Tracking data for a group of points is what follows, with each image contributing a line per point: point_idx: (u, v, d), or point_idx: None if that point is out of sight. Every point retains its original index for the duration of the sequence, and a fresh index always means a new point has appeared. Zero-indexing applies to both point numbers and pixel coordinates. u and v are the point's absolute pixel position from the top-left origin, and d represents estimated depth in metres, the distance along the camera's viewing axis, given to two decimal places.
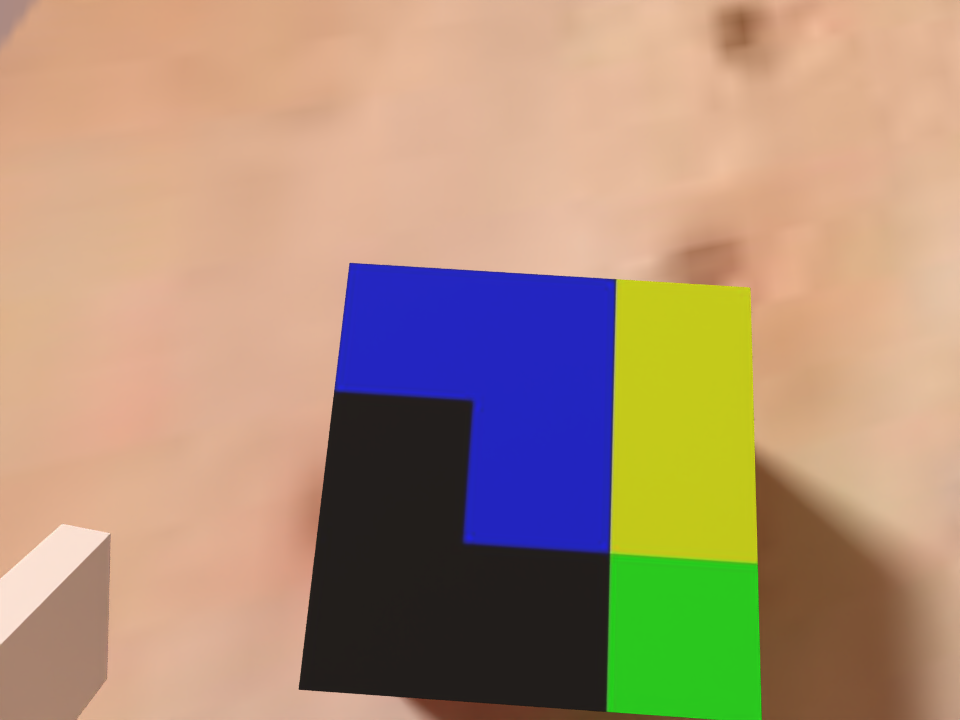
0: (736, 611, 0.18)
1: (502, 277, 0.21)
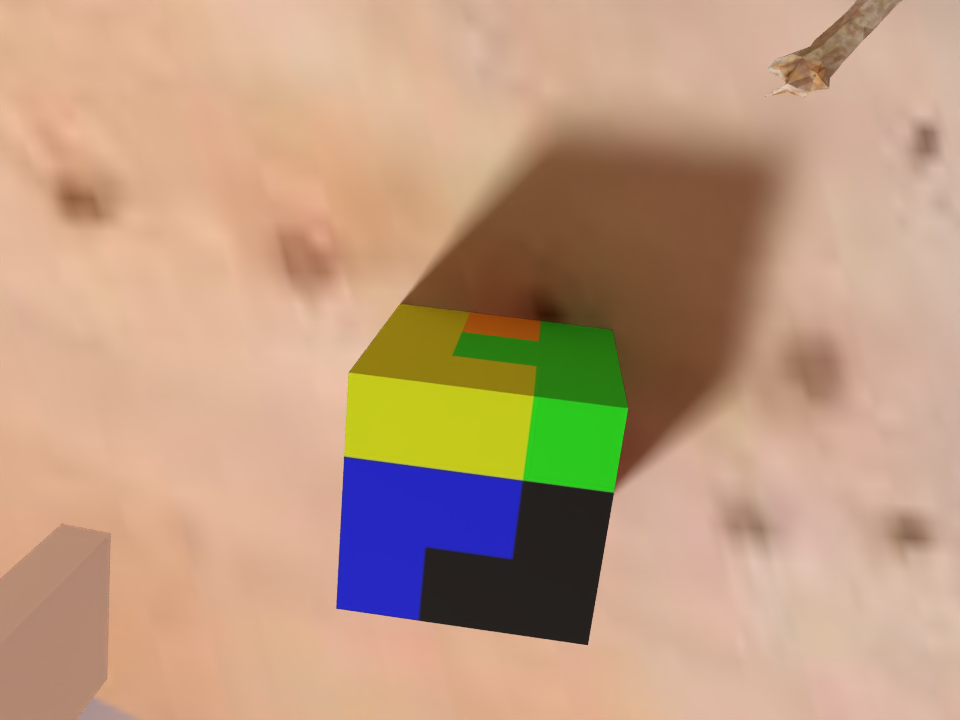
0: (562, 413, 0.29)
1: (344, 523, 0.32)
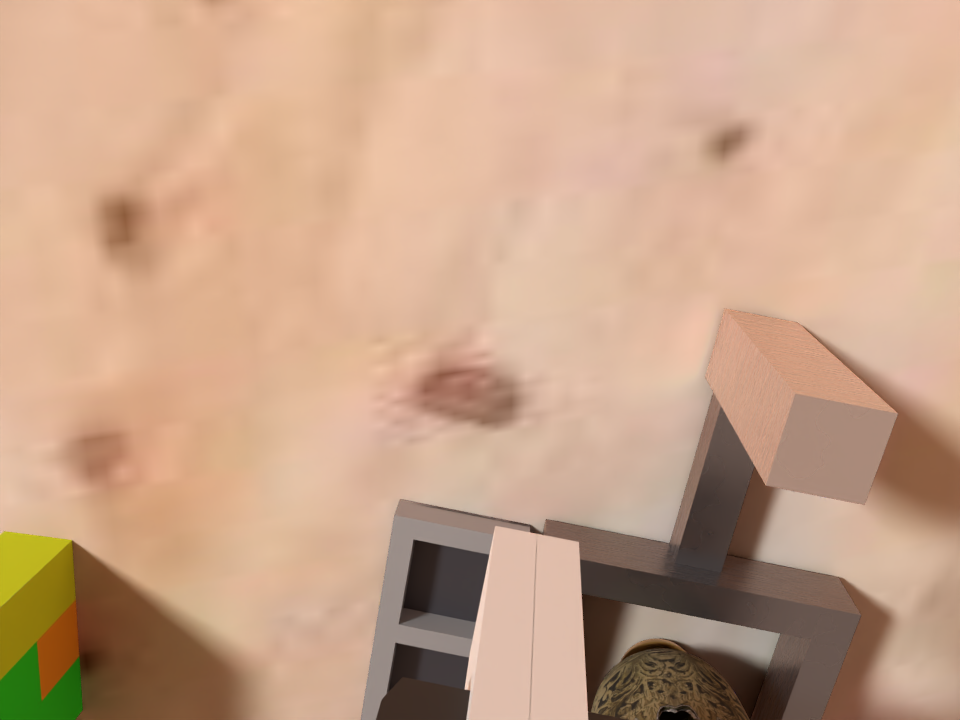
0: None
1: None
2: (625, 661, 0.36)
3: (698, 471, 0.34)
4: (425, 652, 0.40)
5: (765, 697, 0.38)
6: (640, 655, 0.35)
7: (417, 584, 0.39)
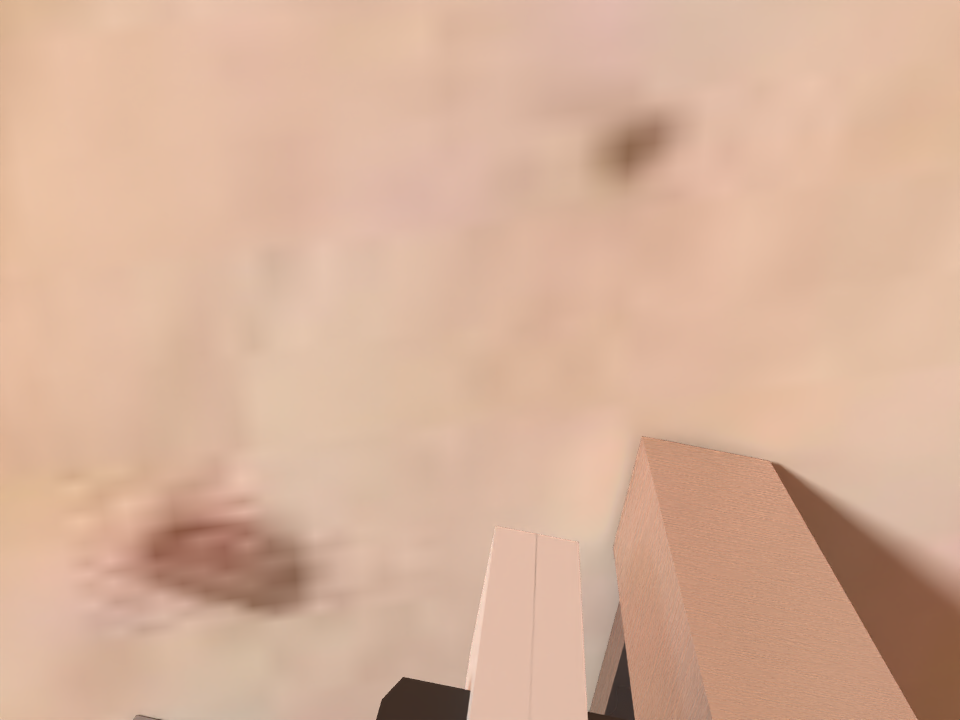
0: None
1: None
2: None
3: (602, 705, 0.20)
4: None
5: None
6: None
7: None
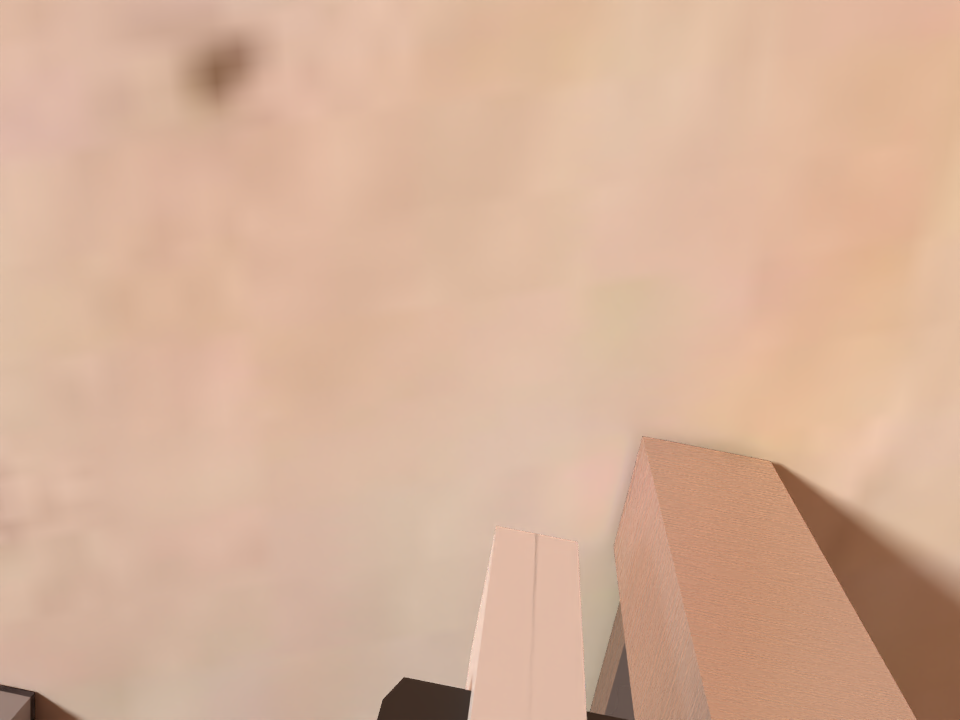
0: None
1: None
2: None
3: (602, 705, 0.20)
4: None
5: None
6: None
7: None
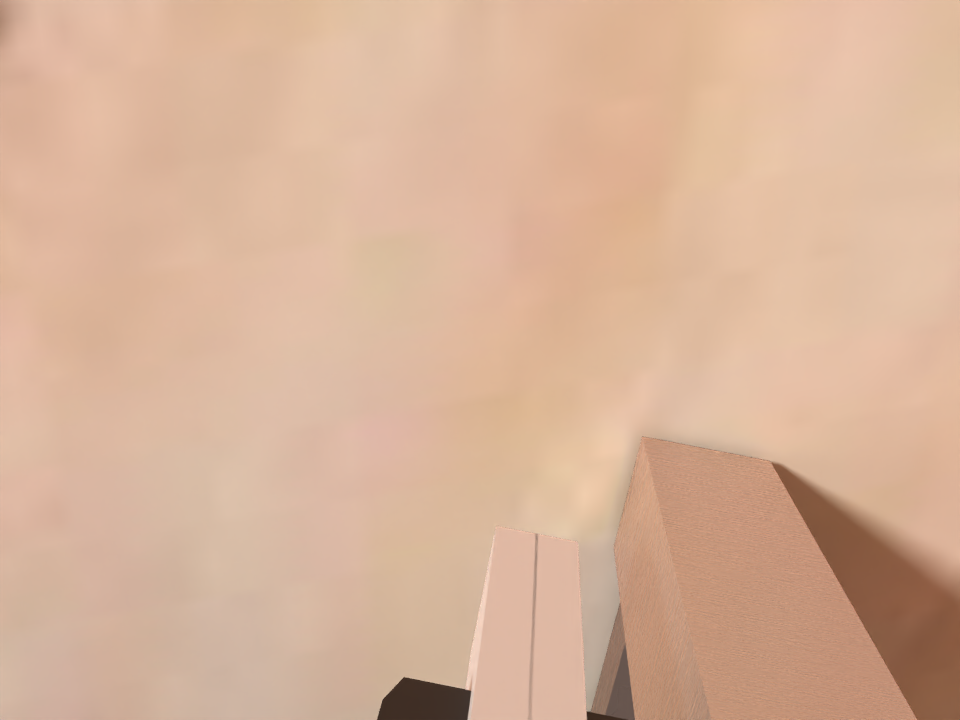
0: None
1: None
2: None
3: (603, 705, 0.20)
4: None
5: None
6: None
7: None
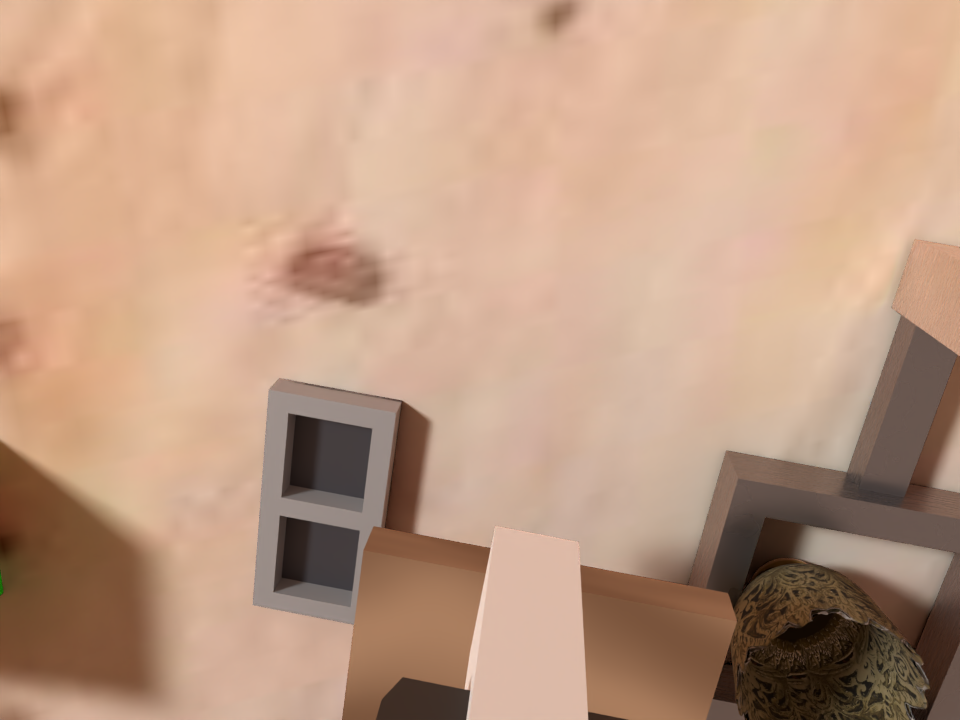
0: None
1: None
2: (763, 576, 0.37)
3: (885, 399, 0.36)
4: (313, 528, 0.42)
5: (936, 621, 0.39)
6: (777, 569, 0.37)
7: (301, 461, 0.41)
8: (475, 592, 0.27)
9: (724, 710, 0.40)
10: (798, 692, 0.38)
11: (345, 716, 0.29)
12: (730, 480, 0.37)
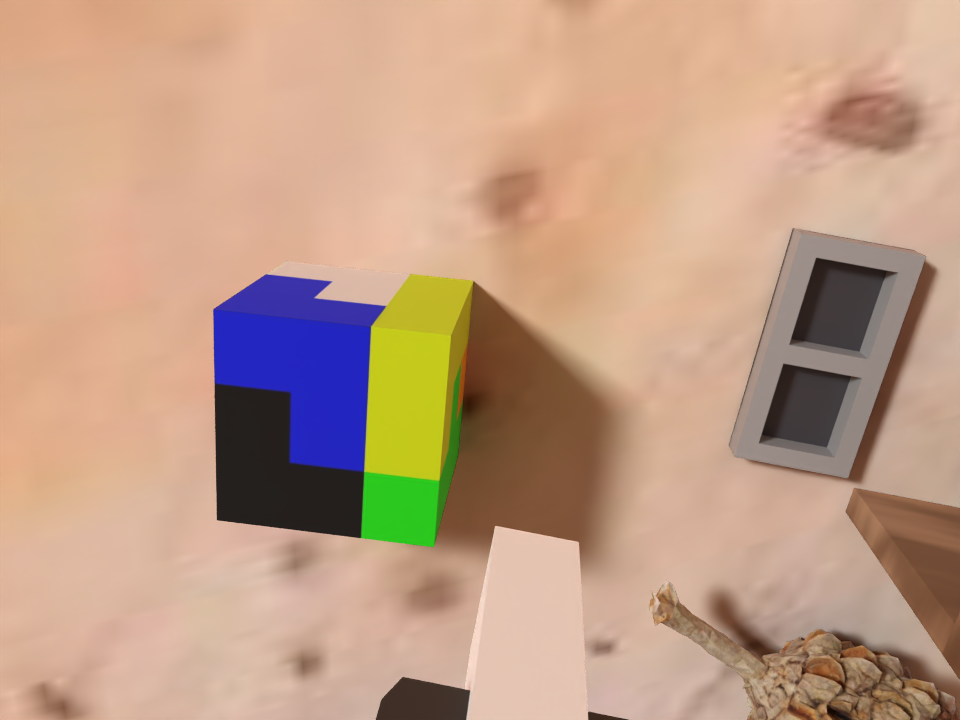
0: (426, 501, 0.36)
1: (303, 322, 0.34)
2: None
3: None
4: (797, 382, 0.43)
5: None
6: None
7: (799, 313, 0.42)
8: None
9: None
10: None
11: None
12: None
